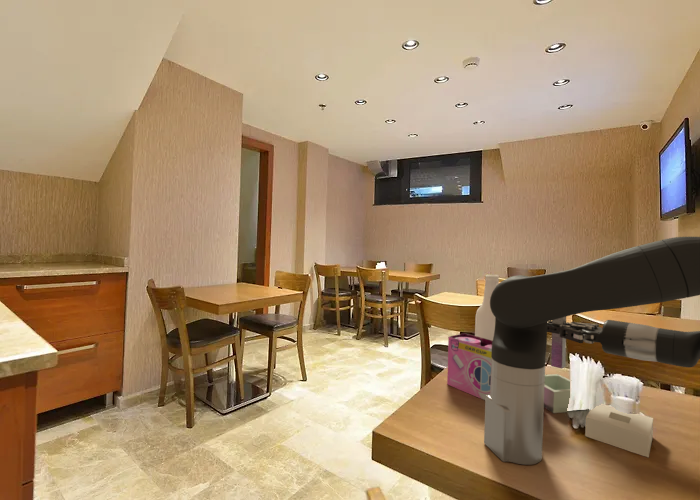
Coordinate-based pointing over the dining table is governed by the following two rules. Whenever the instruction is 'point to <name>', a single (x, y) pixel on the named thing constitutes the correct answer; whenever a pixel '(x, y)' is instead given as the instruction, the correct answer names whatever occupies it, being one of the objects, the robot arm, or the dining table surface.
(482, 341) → the gum box
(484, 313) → the alcohol
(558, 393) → the bin
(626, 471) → the dining table surface
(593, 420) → the key block
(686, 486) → the dining table surface
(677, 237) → the robot arm
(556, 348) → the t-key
